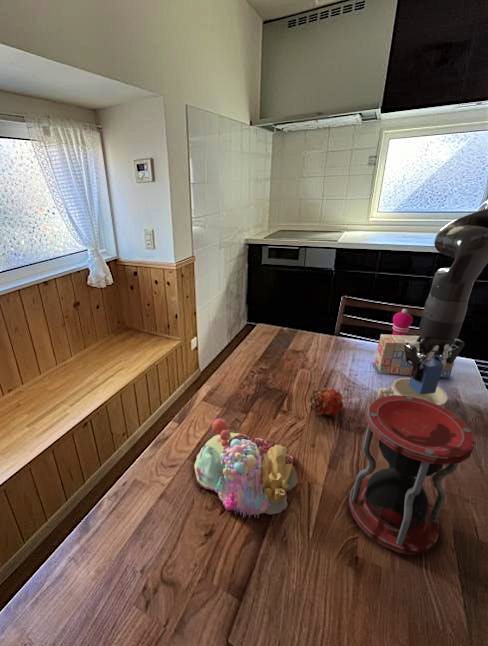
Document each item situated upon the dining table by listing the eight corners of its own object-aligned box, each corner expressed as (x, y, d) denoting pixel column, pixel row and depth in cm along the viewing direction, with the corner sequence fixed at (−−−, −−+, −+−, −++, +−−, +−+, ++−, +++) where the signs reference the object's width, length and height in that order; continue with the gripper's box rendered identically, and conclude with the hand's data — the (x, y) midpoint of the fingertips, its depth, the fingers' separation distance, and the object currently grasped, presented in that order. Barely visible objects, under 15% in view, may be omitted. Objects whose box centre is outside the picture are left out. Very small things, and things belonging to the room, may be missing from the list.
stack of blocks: (441, 368, 117) (450, 337, 112) (449, 378, 112) (459, 346, 107) (374, 363, 123) (380, 333, 117) (378, 373, 117) (385, 341, 112)
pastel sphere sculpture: (298, 447, 88) (301, 419, 85) (296, 532, 68) (300, 500, 64) (206, 430, 96) (205, 404, 92) (180, 502, 76) (177, 472, 72)
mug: (431, 394, 105) (435, 379, 103) (451, 423, 93) (456, 408, 91) (370, 388, 109) (373, 374, 107) (382, 416, 97) (386, 401, 95)
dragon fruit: (309, 424, 98) (331, 411, 105) (334, 422, 91) (356, 408, 99) (298, 395, 100) (321, 385, 107) (323, 391, 93) (345, 380, 100)
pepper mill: (408, 359, 124) (421, 309, 116) (398, 365, 120) (410, 314, 112) (389, 351, 129) (400, 303, 121) (378, 357, 126) (388, 308, 118)
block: (422, 383, 86) (430, 356, 83) (435, 392, 82) (443, 365, 79) (408, 385, 86) (415, 358, 82) (419, 394, 82) (427, 366, 79)
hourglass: (351, 540, 66) (374, 444, 56) (346, 474, 80) (363, 388, 70) (449, 567, 61) (493, 467, 51) (425, 492, 75) (456, 402, 64)
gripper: (426, 324, 72) (408, 390, 79) (487, 318, 73) (464, 384, 80) (401, 311, 79) (387, 373, 86) (458, 306, 80) (439, 367, 87)
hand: (424, 378), depth 83 cm, fingers closed on block, 4 cm apart
